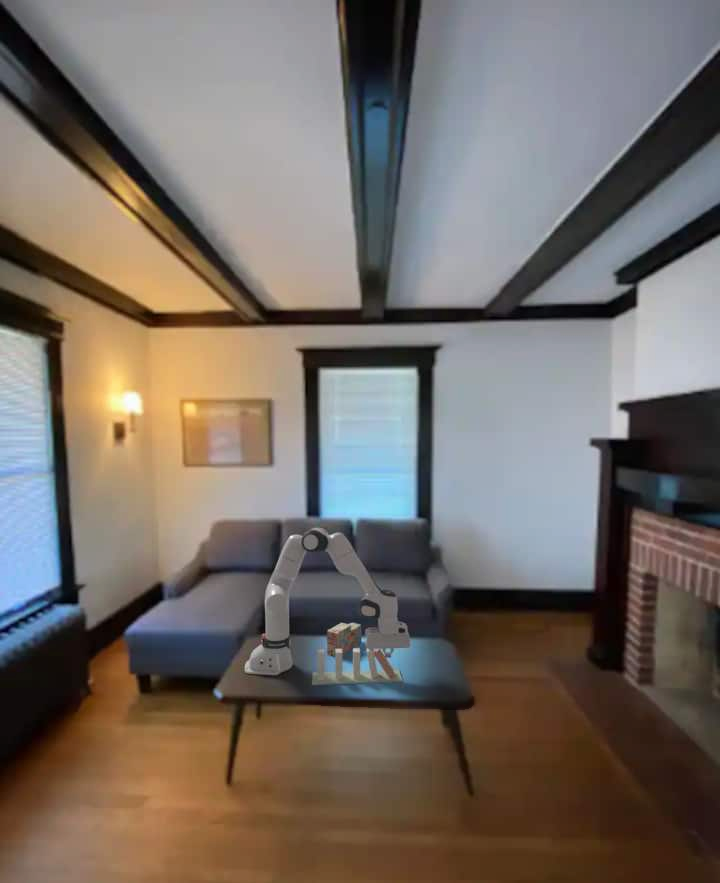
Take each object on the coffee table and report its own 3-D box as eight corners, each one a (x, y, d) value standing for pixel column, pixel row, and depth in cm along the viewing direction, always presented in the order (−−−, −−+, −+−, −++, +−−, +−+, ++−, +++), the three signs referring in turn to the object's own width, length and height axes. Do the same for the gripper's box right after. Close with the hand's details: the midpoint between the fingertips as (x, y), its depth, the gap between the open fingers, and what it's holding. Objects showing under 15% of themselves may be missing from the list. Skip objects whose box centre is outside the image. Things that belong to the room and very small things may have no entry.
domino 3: (353, 678, 214) (353, 652, 213) (353, 674, 218) (353, 648, 217) (360, 678, 214) (360, 652, 214) (359, 674, 218) (359, 648, 218)
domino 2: (335, 679, 213) (335, 652, 213) (335, 675, 217) (335, 648, 217) (342, 679, 213) (342, 652, 213) (342, 674, 217) (342, 648, 217)
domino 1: (317, 680, 213) (317, 653, 213) (318, 675, 217) (317, 649, 217) (324, 679, 213) (324, 653, 213) (324, 675, 217) (324, 649, 217)
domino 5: (388, 677, 215) (374, 655, 214) (387, 673, 219) (373, 651, 218) (394, 673, 215) (380, 651, 214) (393, 669, 219) (379, 647, 218)
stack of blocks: (352, 639, 256) (351, 616, 256) (361, 642, 253) (361, 619, 252) (326, 654, 239) (326, 630, 239) (336, 658, 235) (336, 633, 235)
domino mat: (311, 685, 210) (311, 683, 210) (312, 673, 220) (312, 672, 220) (402, 681, 212) (402, 680, 212) (399, 670, 222) (399, 669, 222)
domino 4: (371, 678, 214) (367, 652, 214) (370, 673, 218) (366, 648, 218) (377, 677, 214) (373, 650, 214) (377, 672, 218) (373, 646, 218)
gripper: (365, 630, 212) (365, 661, 213) (411, 629, 214) (411, 659, 214) (364, 624, 219) (364, 654, 219) (408, 623, 220) (408, 653, 220)
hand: (388, 657), depth 216 cm, fingers closed
